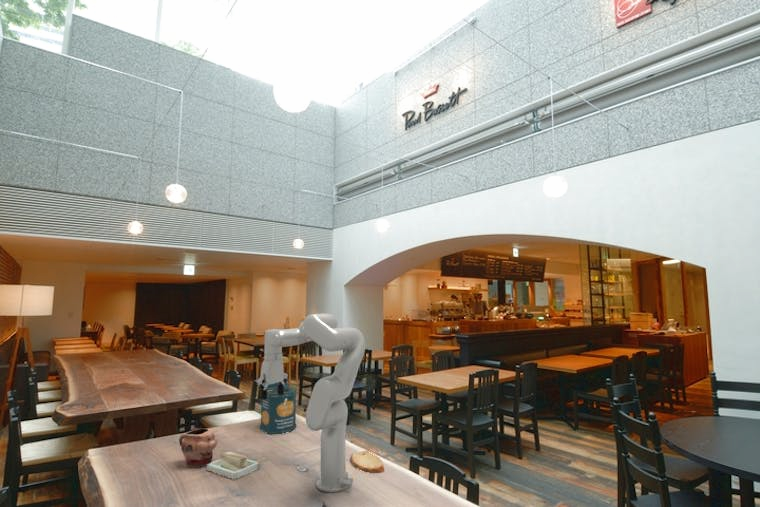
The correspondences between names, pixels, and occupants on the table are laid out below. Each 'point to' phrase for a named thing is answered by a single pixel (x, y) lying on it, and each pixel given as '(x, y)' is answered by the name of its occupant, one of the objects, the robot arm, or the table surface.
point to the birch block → (233, 461)
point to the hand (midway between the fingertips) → (272, 396)
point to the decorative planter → (198, 447)
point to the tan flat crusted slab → (367, 462)
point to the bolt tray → (228, 473)
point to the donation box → (278, 410)
